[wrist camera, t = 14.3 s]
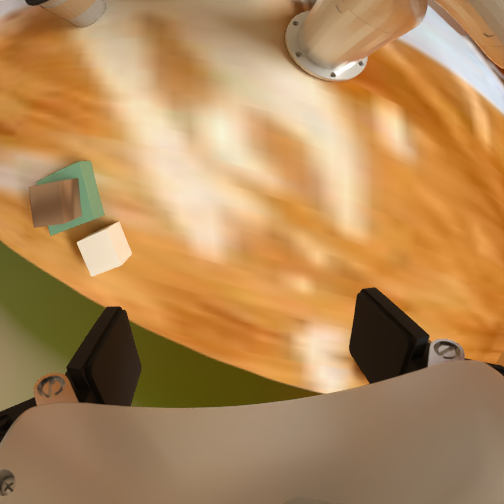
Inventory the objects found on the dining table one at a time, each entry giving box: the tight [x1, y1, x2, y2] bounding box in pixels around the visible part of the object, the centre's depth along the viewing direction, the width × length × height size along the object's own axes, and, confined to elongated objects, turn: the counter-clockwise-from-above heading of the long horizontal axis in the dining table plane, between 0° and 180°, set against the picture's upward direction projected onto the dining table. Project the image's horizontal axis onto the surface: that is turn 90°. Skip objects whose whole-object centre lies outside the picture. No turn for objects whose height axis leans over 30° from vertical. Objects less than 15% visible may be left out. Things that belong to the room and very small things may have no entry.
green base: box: [36, 161, 105, 236], centre depth 33 cm, size 8×8×4 cm
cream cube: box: [77, 222, 132, 276], centre depth 35 cm, size 5×5×5 cm
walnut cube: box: [29, 178, 82, 228], centre depth 28 cm, size 5×5×5 cm
